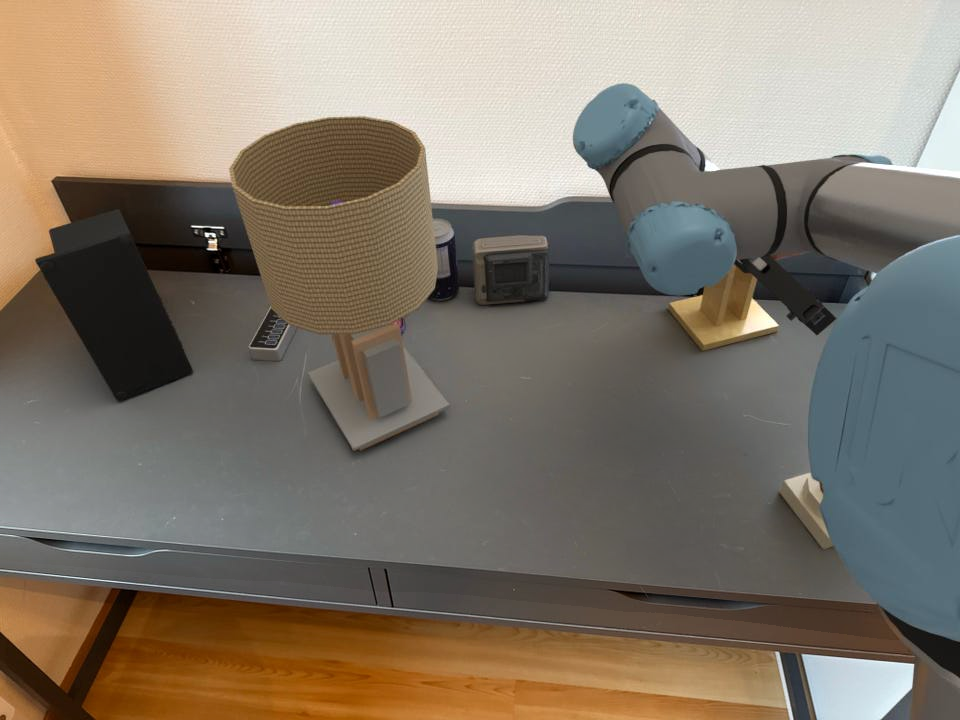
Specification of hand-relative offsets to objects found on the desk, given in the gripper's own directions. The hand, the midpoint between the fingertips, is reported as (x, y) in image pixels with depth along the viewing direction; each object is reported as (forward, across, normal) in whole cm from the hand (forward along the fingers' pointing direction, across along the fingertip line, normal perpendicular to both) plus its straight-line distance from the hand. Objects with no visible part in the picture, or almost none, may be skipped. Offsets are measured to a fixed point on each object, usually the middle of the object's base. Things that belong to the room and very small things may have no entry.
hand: (788, 290), depth 83 cm
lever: (+2, -7, +1) cm, 7 cm away
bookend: (-46, -38, -68) cm, 91 cm away
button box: (+8, +20, -14) cm, 26 cm away
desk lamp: (-24, -14, -46) cm, 53 cm away
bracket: (+12, -13, -9) cm, 20 cm away
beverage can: (-14, -34, -36) cm, 51 cm away
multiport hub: (-32, -34, -53) cm, 71 cm away
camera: (-7, -29, -28) cm, 41 cm away
